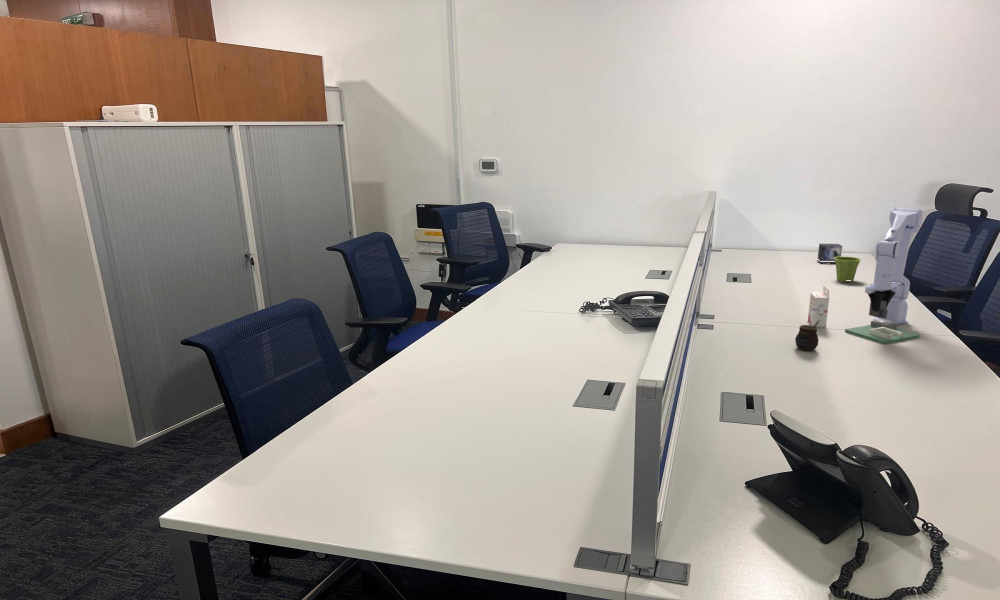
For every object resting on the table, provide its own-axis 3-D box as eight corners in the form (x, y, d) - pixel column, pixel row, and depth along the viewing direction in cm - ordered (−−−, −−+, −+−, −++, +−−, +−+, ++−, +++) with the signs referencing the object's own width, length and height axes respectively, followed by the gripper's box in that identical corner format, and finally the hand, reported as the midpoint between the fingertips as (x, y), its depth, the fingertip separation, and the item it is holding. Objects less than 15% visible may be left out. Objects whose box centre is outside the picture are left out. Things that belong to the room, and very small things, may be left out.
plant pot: (859, 279, 321) (862, 257, 318) (857, 284, 312) (860, 261, 309) (832, 277, 328) (835, 255, 325) (830, 281, 318) (832, 259, 315)
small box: (820, 263, 359) (822, 245, 357) (816, 261, 366) (818, 243, 363) (840, 264, 358) (842, 245, 355) (836, 261, 364) (838, 243, 361)
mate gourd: (789, 347, 225) (792, 319, 223) (805, 344, 228) (808, 317, 226) (806, 353, 219) (809, 325, 216) (822, 350, 222) (826, 322, 219)
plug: (874, 314, 239) (876, 298, 238) (888, 317, 234) (890, 301, 233) (868, 315, 238) (870, 299, 237) (882, 318, 233) (884, 302, 232)
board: (878, 325, 248) (880, 317, 247) (919, 337, 233) (920, 328, 233) (844, 331, 241) (845, 323, 240) (884, 344, 227) (885, 335, 226)
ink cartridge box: (806, 320, 256) (810, 284, 252) (820, 321, 255) (824, 284, 251) (812, 326, 248) (816, 289, 244) (826, 327, 247) (830, 290, 243)
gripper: (888, 270, 239) (883, 305, 242) (859, 273, 233) (854, 309, 237) (906, 273, 232) (900, 310, 236) (877, 277, 227) (872, 314, 231)
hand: (878, 310), depth 236 cm, fingers closed on plug, 3 cm apart
